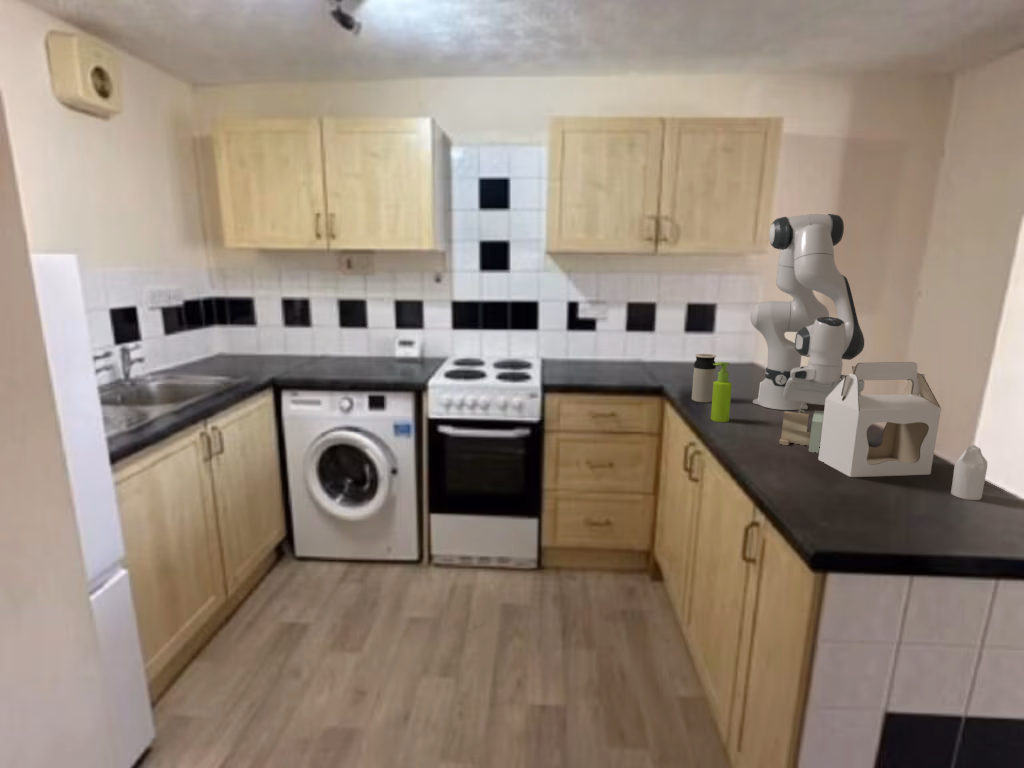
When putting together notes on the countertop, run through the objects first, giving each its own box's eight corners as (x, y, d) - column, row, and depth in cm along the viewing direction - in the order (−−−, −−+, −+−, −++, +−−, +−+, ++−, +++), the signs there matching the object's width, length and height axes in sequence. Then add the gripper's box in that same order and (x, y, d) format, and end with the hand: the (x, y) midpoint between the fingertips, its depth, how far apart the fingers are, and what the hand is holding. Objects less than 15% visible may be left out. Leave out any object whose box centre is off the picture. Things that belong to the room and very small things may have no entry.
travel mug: (714, 403, 216) (718, 357, 212) (692, 402, 217) (696, 356, 214) (711, 398, 223) (714, 353, 220) (690, 397, 225) (693, 353, 221)
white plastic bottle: (971, 449, 125) (951, 442, 130) (962, 500, 127) (943, 490, 133) (998, 449, 125) (976, 441, 131) (988, 500, 128) (968, 490, 133)
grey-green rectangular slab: (811, 438, 172) (814, 410, 170) (820, 440, 171) (824, 411, 169) (808, 451, 160) (811, 421, 159) (818, 453, 159) (822, 422, 157)
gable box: (892, 457, 156) (907, 357, 150) (931, 474, 143) (949, 366, 137) (816, 459, 154) (828, 358, 148) (849, 477, 141) (864, 367, 135)
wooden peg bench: (781, 437, 173) (784, 409, 172) (851, 447, 164) (855, 417, 162) (779, 444, 167) (782, 415, 165) (851, 455, 158) (855, 424, 156)
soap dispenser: (704, 418, 195) (708, 361, 190) (720, 416, 197) (725, 360, 193) (716, 423, 189) (720, 364, 185) (732, 421, 192) (737, 363, 187)
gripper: (865, 375, 163) (858, 420, 166) (787, 368, 173) (782, 411, 176) (865, 379, 158) (859, 426, 161) (785, 371, 168) (780, 416, 171)
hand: (818, 418), depth 168 cm, fingers open, 8 cm apart
